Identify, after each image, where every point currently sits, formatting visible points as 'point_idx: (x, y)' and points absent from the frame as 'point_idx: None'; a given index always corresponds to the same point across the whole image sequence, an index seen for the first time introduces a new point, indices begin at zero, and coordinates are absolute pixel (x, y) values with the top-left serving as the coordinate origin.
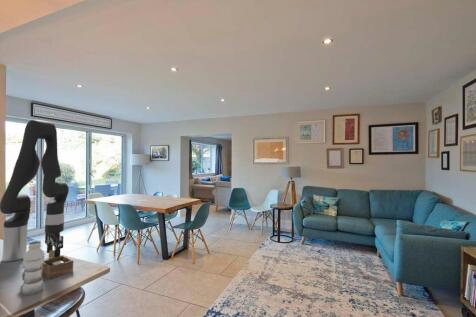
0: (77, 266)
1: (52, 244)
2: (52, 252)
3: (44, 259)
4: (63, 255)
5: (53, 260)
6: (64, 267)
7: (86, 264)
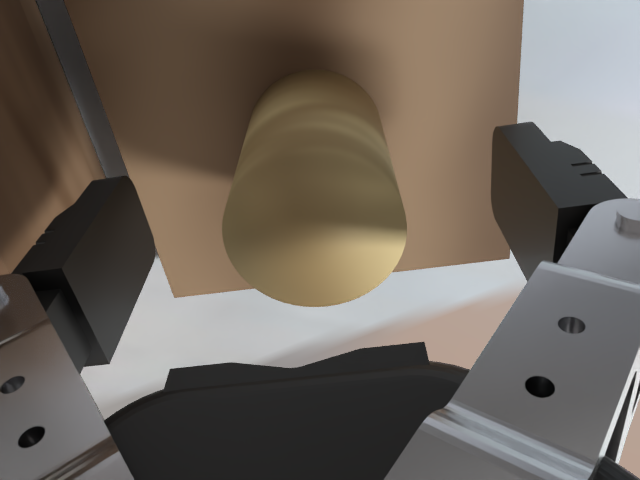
0: None
1: (32, 346)
2: (229, 197)
3: (507, 41)
4: None
5: None
6: None
7: None
